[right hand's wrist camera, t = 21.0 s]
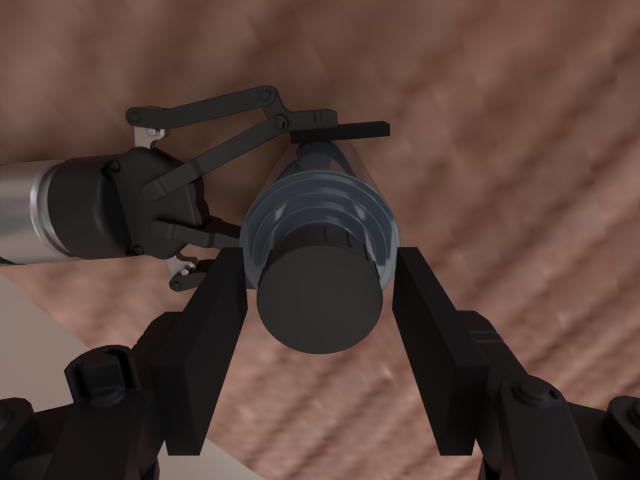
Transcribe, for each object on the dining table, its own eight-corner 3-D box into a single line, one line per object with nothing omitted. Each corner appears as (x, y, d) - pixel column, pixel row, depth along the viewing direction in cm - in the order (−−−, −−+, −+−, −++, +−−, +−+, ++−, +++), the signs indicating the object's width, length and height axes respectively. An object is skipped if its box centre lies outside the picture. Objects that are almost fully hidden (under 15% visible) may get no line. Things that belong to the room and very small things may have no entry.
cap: (400, 276, 15) (411, 301, 13) (321, 343, 16) (321, 376, 14) (318, 200, 13) (318, 216, 12) (240, 279, 15) (229, 304, 13)
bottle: (261, 181, 33) (177, 310, 14) (311, 111, 31) (298, 147, 11) (326, 229, 35) (335, 405, 15) (379, 166, 33) (467, 278, 13)
